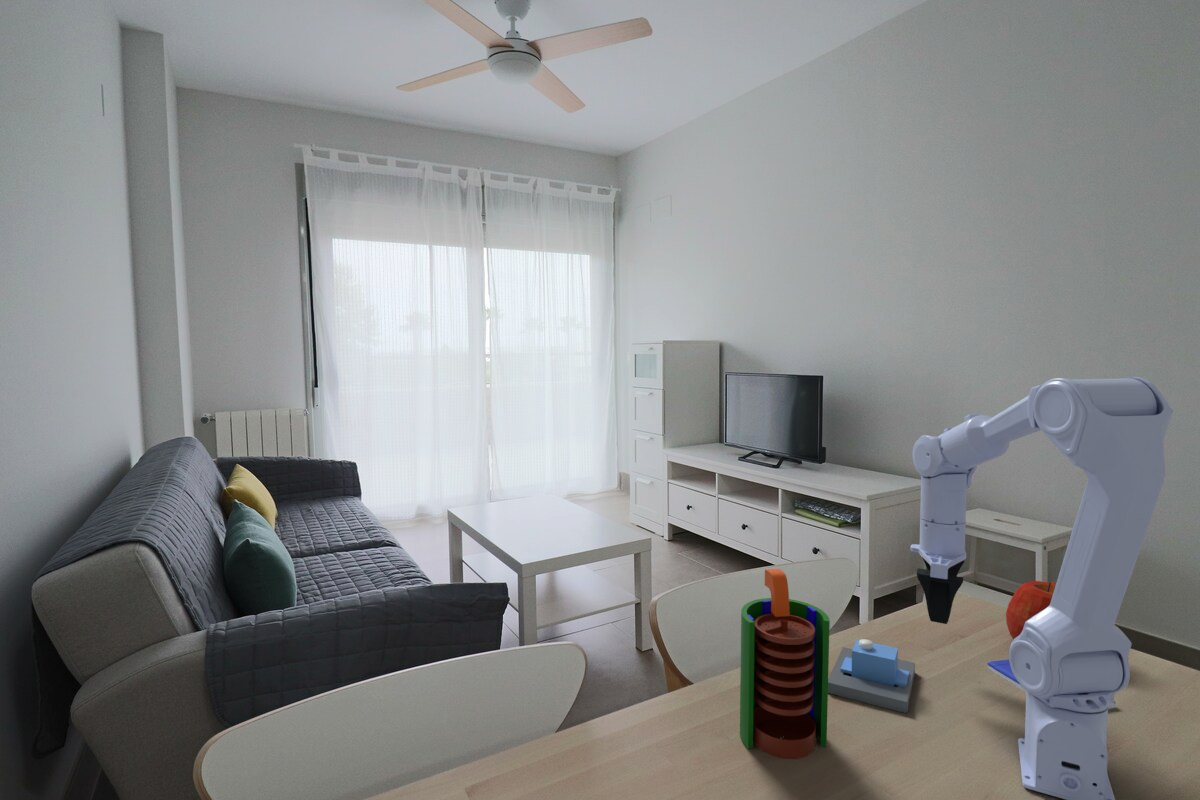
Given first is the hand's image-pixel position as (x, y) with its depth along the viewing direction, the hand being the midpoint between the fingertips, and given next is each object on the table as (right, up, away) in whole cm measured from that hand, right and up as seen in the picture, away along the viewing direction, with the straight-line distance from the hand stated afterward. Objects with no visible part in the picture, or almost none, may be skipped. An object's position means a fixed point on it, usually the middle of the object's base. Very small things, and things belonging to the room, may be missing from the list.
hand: (940, 612), depth 90 cm
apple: (+21, -9, +9) cm, 25 cm away
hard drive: (+13, -10, -3) cm, 17 cm away
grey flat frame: (-10, -10, -1) cm, 14 cm away
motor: (-27, -11, -13) cm, 32 cm away
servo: (-10, -10, -1) cm, 14 cm away
